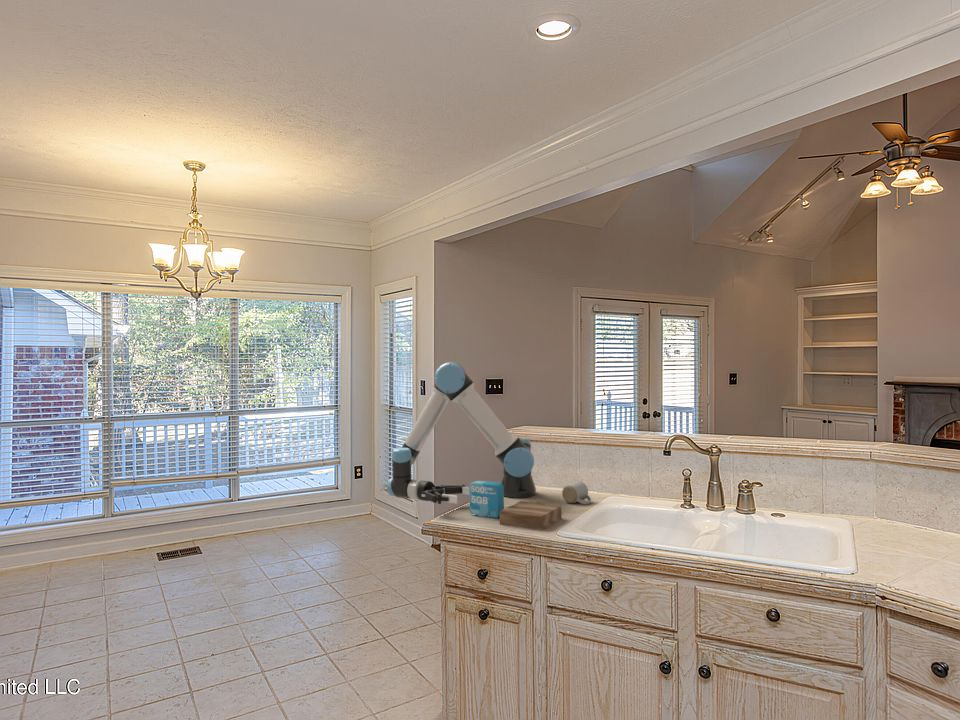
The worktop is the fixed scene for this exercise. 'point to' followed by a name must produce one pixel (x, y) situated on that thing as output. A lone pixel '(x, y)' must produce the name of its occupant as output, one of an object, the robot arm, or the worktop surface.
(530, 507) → the walnut block
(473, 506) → the data package
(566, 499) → the ceramic mug
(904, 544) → the worktop surface
